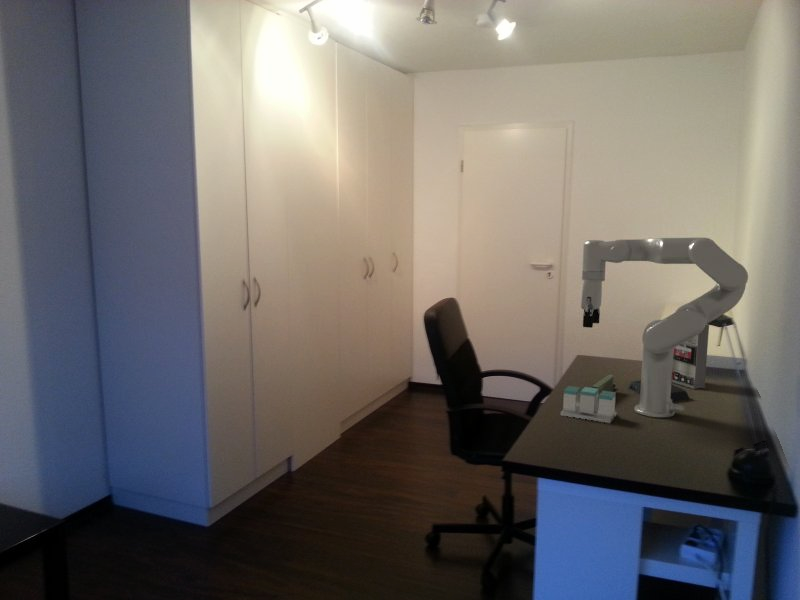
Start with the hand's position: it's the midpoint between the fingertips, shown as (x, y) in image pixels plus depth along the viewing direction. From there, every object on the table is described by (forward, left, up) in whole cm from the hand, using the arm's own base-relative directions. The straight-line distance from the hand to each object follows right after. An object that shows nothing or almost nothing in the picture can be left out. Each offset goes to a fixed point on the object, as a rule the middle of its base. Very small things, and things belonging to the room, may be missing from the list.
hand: (591, 325), depth 223 cm
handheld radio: (-3, -14, -29) cm, 32 cm away
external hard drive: (-20, -26, -29) cm, 44 cm away
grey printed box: (-27, -47, -28) cm, 61 cm away
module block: (-4, +13, -27) cm, 30 cm away
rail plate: (-4, +13, -28) cm, 31 cm away
